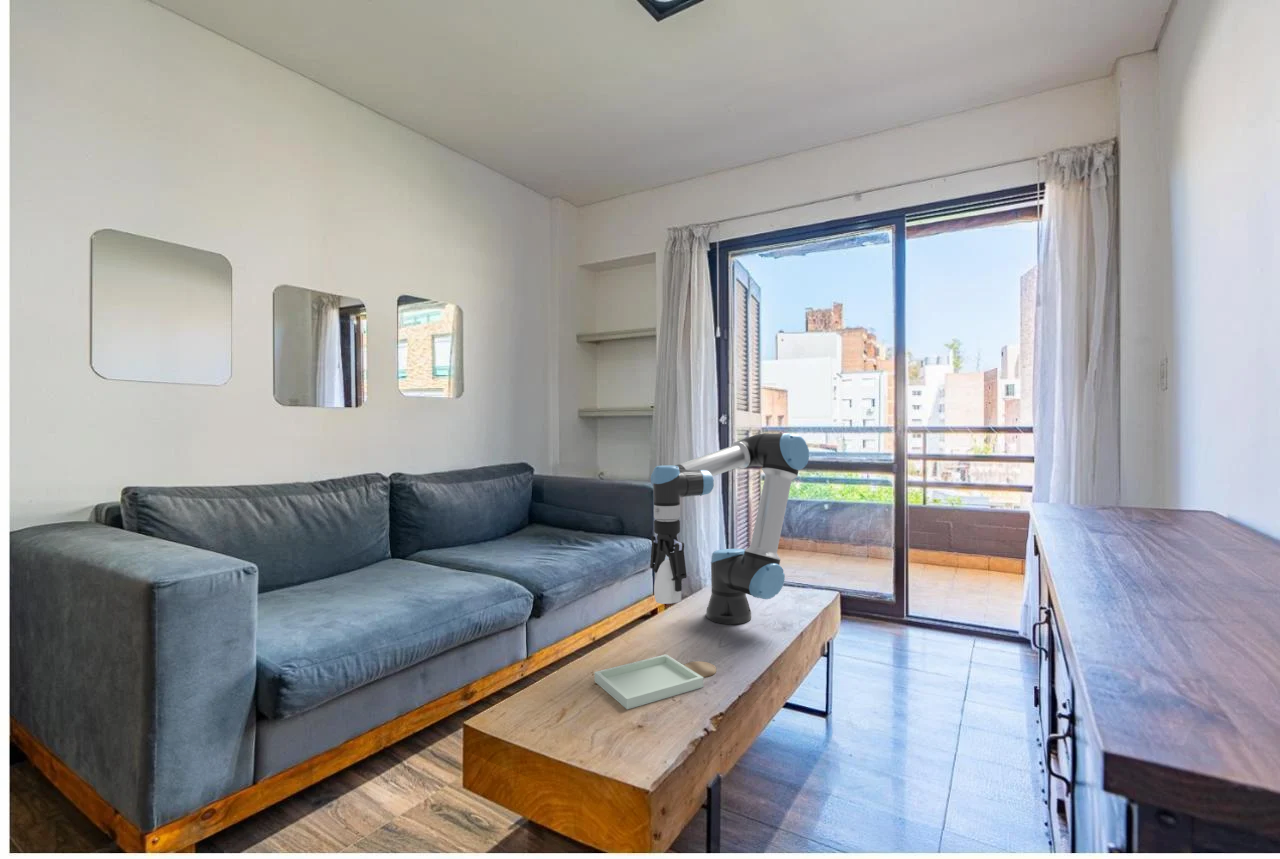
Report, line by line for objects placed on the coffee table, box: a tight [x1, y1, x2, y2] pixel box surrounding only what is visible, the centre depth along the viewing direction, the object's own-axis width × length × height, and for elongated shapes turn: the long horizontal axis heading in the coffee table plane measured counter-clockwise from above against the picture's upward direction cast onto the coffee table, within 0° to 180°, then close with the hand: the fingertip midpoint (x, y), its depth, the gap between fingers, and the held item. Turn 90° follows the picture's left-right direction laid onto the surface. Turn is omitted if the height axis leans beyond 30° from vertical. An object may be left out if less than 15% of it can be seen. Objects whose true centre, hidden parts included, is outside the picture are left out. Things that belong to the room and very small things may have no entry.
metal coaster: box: [683, 660, 717, 678], centre depth 152 cm, size 9×9×1 cm
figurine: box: [653, 558, 673, 605], centre depth 164 cm, size 7×8×12 cm
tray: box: [594, 653, 705, 710], centre depth 144 cm, size 22×17×2 cm
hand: (668, 598), depth 164 cm, fingers closed on figurine, 8 cm apart
